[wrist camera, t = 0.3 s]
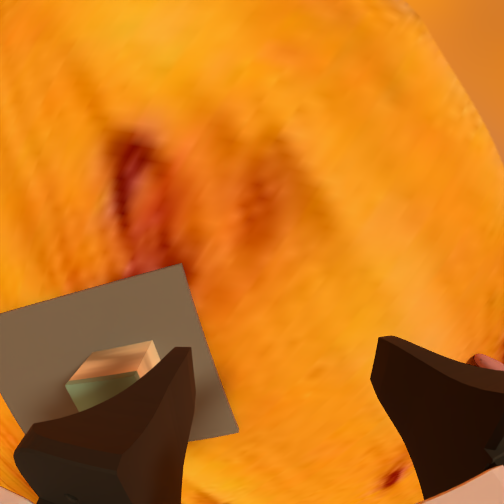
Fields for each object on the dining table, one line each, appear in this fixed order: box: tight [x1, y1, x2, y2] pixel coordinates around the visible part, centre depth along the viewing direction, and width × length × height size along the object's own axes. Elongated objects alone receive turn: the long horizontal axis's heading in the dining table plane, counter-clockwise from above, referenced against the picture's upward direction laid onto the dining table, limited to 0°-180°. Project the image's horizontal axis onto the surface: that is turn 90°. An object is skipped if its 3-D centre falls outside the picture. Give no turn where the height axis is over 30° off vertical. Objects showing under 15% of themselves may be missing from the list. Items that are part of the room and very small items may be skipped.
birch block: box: [65, 340, 161, 412], centre depth 18 cm, size 5×5×5 cm
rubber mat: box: [0, 263, 239, 442], centre depth 20 cm, size 22×14×1 cm, turn 105°
